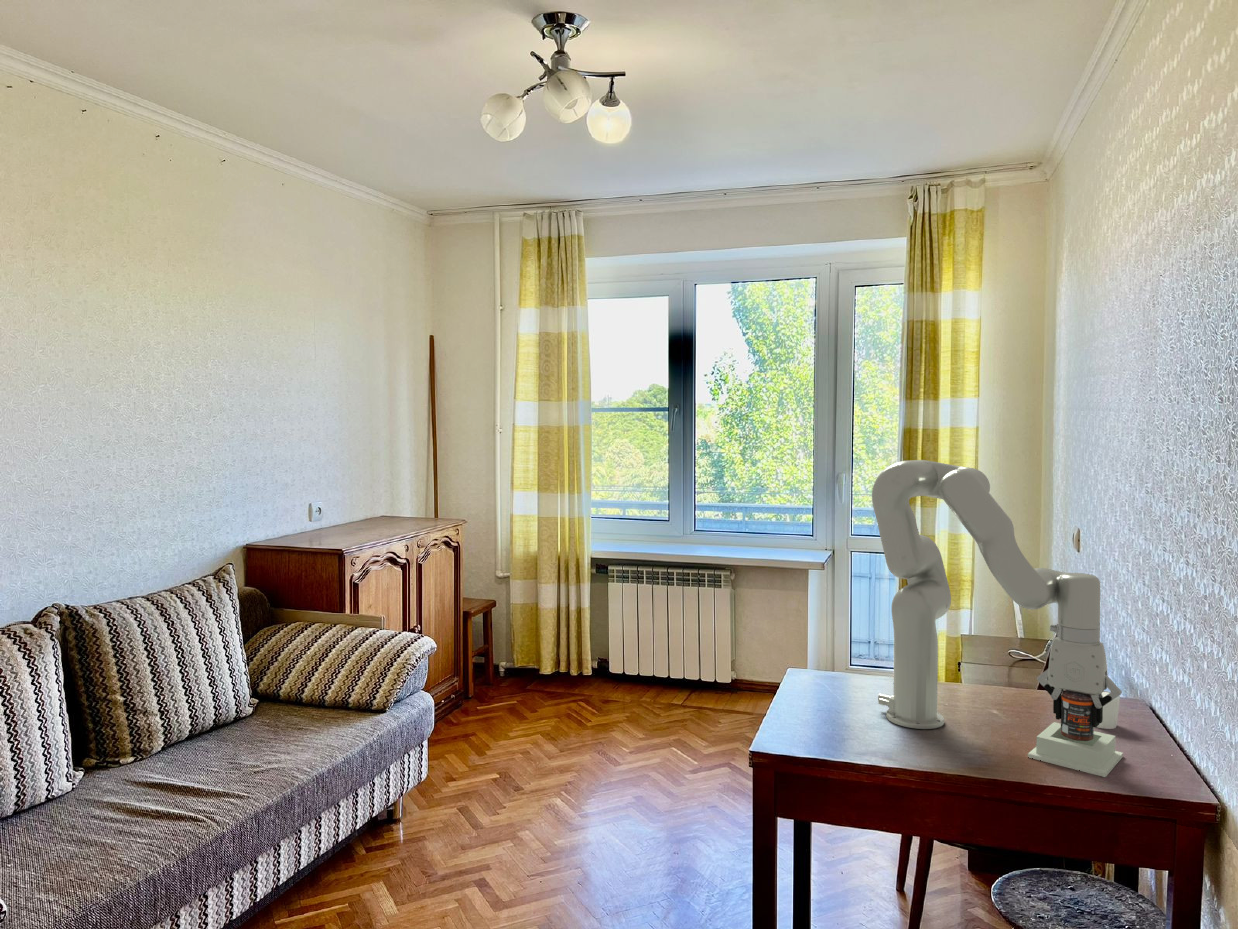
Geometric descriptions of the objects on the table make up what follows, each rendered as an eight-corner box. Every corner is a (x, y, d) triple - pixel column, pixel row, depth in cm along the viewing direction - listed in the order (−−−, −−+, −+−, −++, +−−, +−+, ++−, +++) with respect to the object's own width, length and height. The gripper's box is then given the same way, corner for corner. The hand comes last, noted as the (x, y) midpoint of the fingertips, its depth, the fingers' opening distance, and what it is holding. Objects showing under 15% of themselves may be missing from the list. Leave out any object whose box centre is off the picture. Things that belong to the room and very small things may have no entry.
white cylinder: (1112, 732, 182) (1113, 701, 181) (1079, 723, 187) (1080, 693, 187) (1124, 725, 186) (1125, 694, 186) (1091, 717, 191) (1092, 687, 191)
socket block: (1027, 757, 167) (1028, 736, 167) (1049, 738, 178) (1049, 719, 177) (1105, 777, 158) (1105, 755, 158) (1123, 756, 168) (1123, 736, 168)
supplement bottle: (1065, 741, 165) (1066, 685, 165) (1056, 730, 171) (1057, 677, 171) (1098, 743, 164) (1098, 687, 163) (1088, 733, 170) (1089, 679, 169)
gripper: (1027, 631, 170) (1026, 716, 170) (1122, 645, 158) (1121, 737, 159) (1038, 624, 175) (1037, 708, 176) (1131, 638, 163) (1130, 727, 164)
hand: (1077, 721), depth 167 cm, fingers closed on supplement bottle, 6 cm apart
